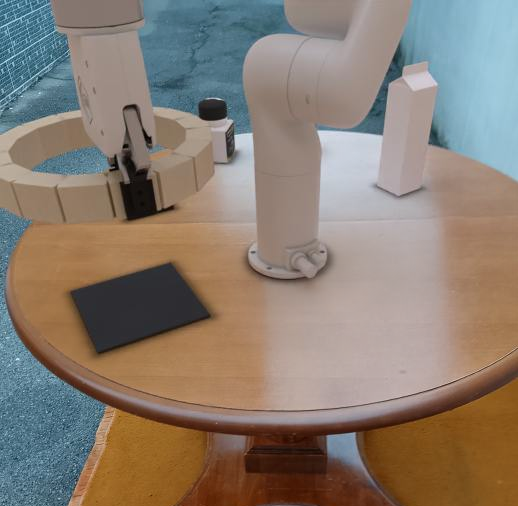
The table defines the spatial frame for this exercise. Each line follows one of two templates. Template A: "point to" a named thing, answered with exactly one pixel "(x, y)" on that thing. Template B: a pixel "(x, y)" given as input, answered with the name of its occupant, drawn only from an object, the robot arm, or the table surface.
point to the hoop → (98, 184)
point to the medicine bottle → (218, 128)
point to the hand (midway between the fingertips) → (136, 207)
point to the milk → (407, 129)
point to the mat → (137, 306)
